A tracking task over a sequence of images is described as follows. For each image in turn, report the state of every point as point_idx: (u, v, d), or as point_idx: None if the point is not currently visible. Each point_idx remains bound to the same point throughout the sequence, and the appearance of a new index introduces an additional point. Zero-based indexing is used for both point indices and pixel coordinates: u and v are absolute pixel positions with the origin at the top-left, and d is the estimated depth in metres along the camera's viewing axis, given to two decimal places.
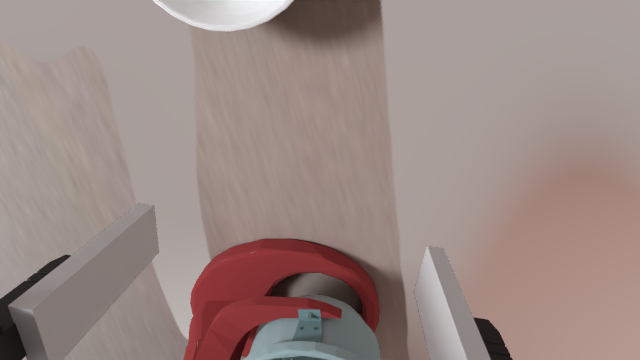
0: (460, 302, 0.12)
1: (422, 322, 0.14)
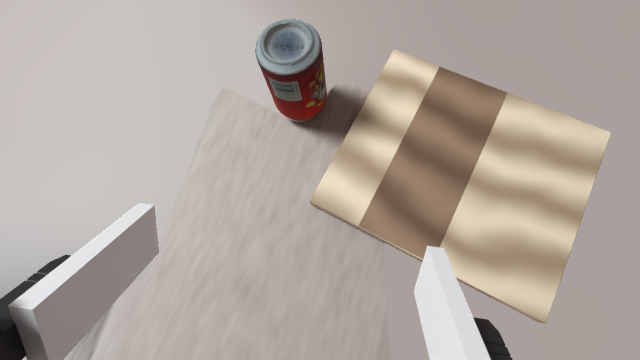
0: (461, 302, 0.12)
1: (423, 322, 0.14)
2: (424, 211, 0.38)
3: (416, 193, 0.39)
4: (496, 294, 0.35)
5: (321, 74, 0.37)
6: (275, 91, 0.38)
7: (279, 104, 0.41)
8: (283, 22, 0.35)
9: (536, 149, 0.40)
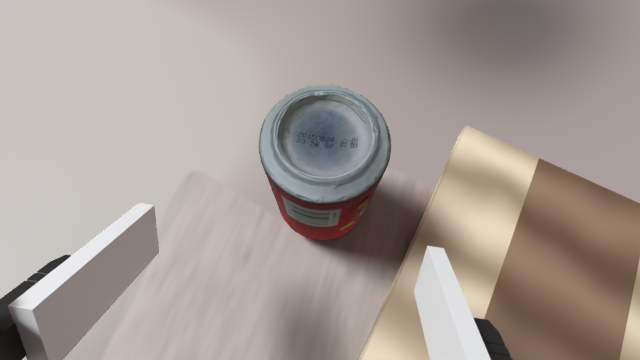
0: (461, 302, 0.12)
1: (422, 322, 0.14)
2: None
3: None
4: None
5: None
6: (290, 212, 0.20)
7: (290, 221, 0.23)
8: (317, 92, 0.18)
9: None
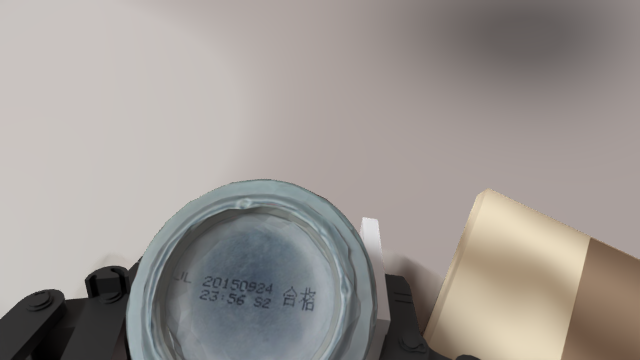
0: (377, 260, 0.14)
1: None
2: None
3: None
4: None
5: None
6: None
7: None
8: (240, 202, 0.10)
9: None
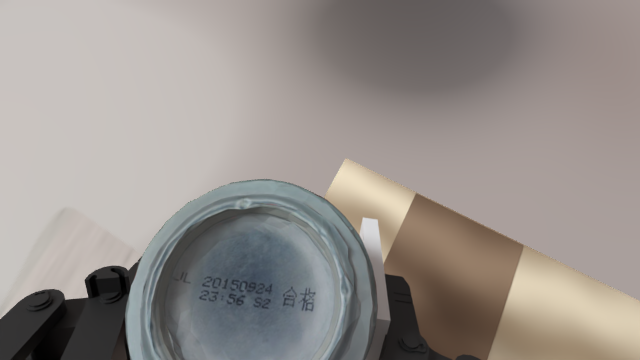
0: (377, 260, 0.14)
1: None
2: None
3: None
4: None
5: None
6: None
7: None
8: (240, 202, 0.10)
9: (578, 357, 0.23)
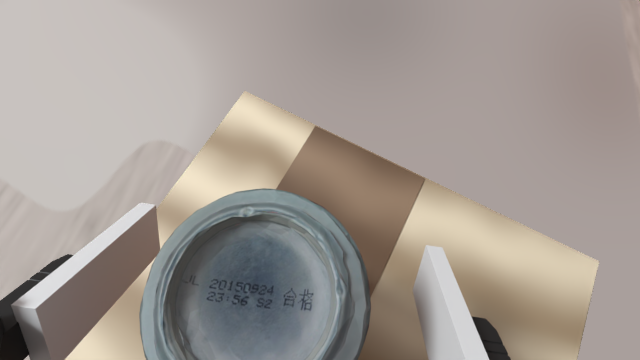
0: (459, 301, 0.12)
1: (421, 321, 0.14)
2: None
3: None
4: None
5: None
6: None
7: None
8: (243, 210, 0.10)
9: (472, 291, 0.21)
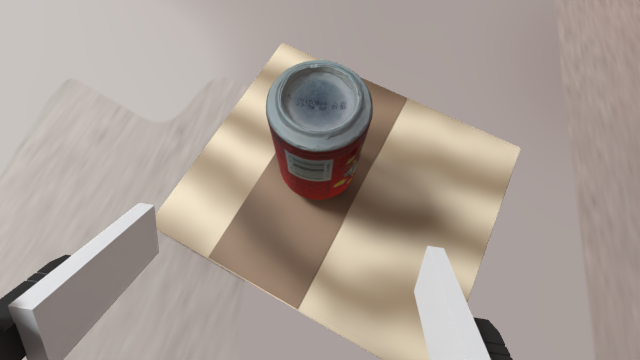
0: (460, 302, 0.12)
1: (423, 322, 0.14)
2: (295, 238, 0.30)
3: (287, 216, 0.31)
4: (376, 351, 0.27)
5: (363, 144, 0.24)
6: (291, 167, 0.24)
7: (291, 181, 0.27)
8: (312, 65, 0.22)
9: (436, 165, 0.33)
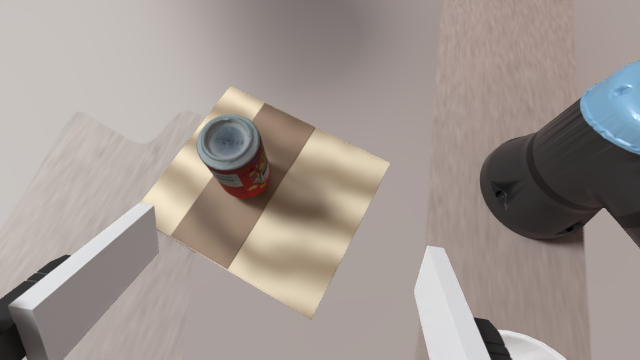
0: (460, 302, 0.12)
1: (422, 322, 0.14)
2: (229, 224, 0.45)
3: (224, 209, 0.46)
4: (275, 295, 0.42)
5: (262, 164, 0.39)
6: (217, 178, 0.39)
7: (222, 186, 0.42)
8: (225, 118, 0.37)
9: (330, 174, 0.48)
